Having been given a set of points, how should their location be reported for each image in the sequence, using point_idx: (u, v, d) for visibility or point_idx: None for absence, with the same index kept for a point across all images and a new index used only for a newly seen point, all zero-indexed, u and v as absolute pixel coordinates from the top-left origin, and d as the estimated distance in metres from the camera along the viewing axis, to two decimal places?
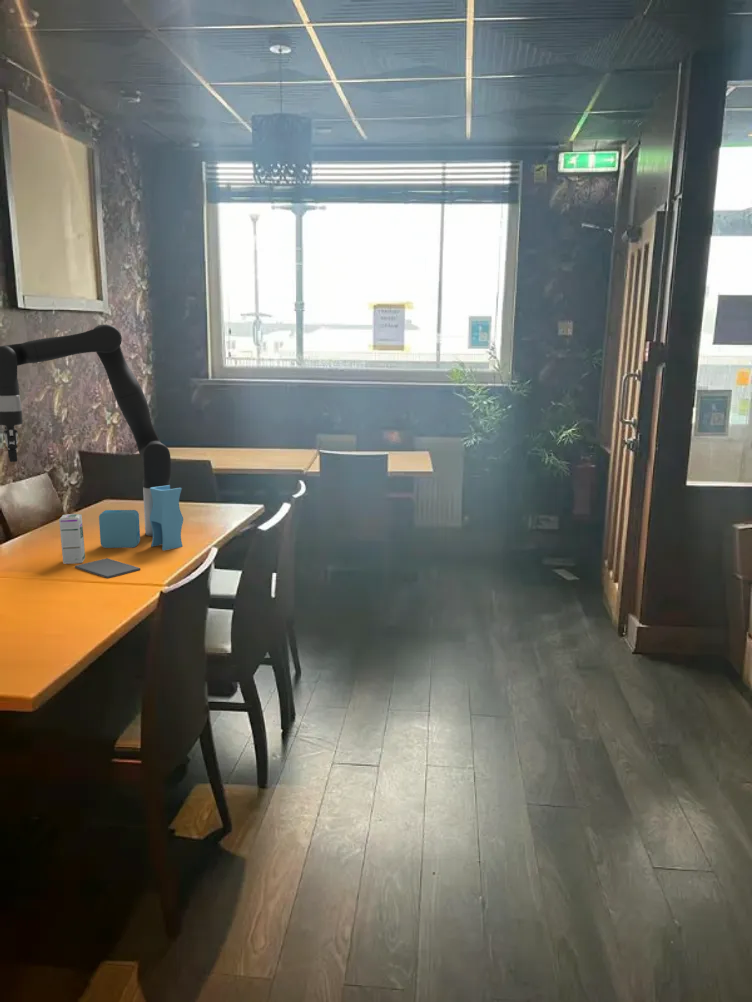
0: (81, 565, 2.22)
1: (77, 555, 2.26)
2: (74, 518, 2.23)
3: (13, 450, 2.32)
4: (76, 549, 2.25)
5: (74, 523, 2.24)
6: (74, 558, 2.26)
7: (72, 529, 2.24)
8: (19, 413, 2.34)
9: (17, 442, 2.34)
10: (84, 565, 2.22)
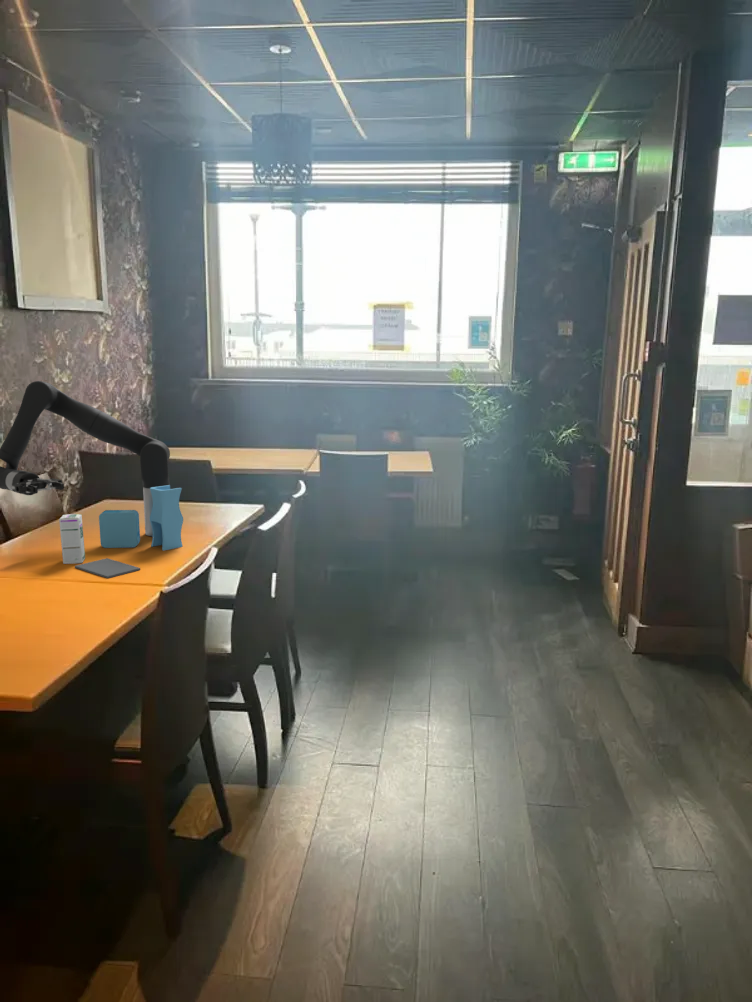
0: (81, 565, 2.22)
1: (77, 555, 2.26)
2: (74, 518, 2.23)
3: (26, 488, 2.29)
4: (76, 549, 2.25)
5: (74, 523, 2.24)
6: (74, 558, 2.26)
7: (72, 529, 2.24)
8: (17, 474, 2.37)
9: (28, 482, 2.31)
10: (84, 565, 2.22)
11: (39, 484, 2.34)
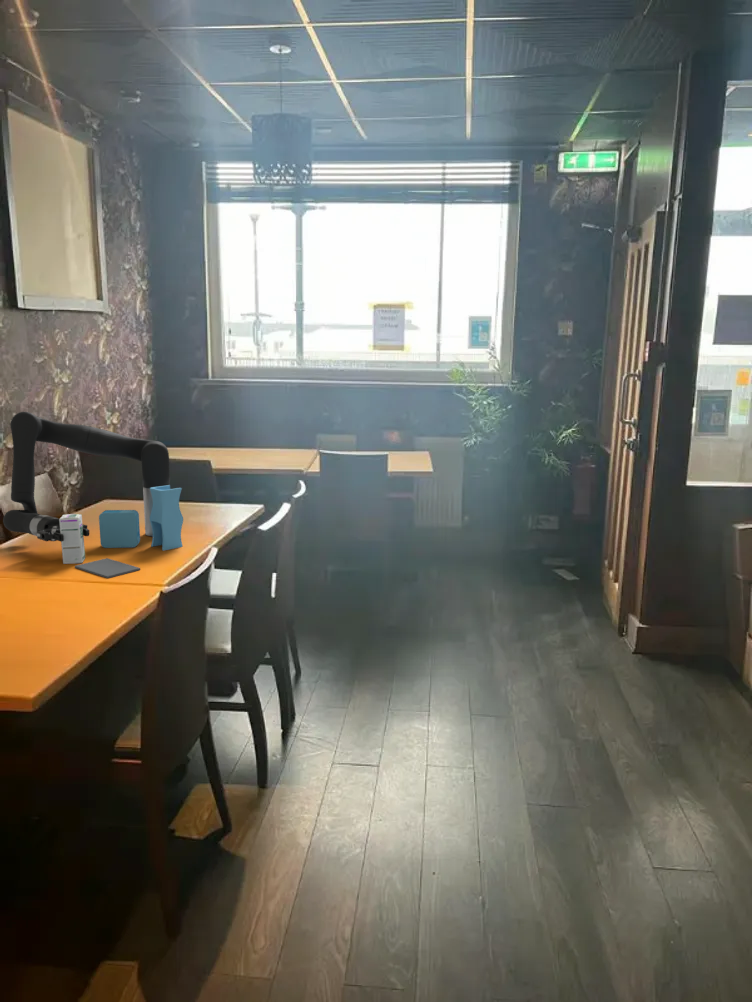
0: (81, 565, 2.22)
1: (77, 555, 2.26)
2: (74, 518, 2.23)
3: (52, 536, 2.24)
4: (76, 549, 2.25)
5: (74, 523, 2.24)
6: (74, 558, 2.26)
7: (72, 529, 2.24)
8: (41, 520, 2.32)
9: (53, 529, 2.26)
10: (84, 565, 2.22)
11: None
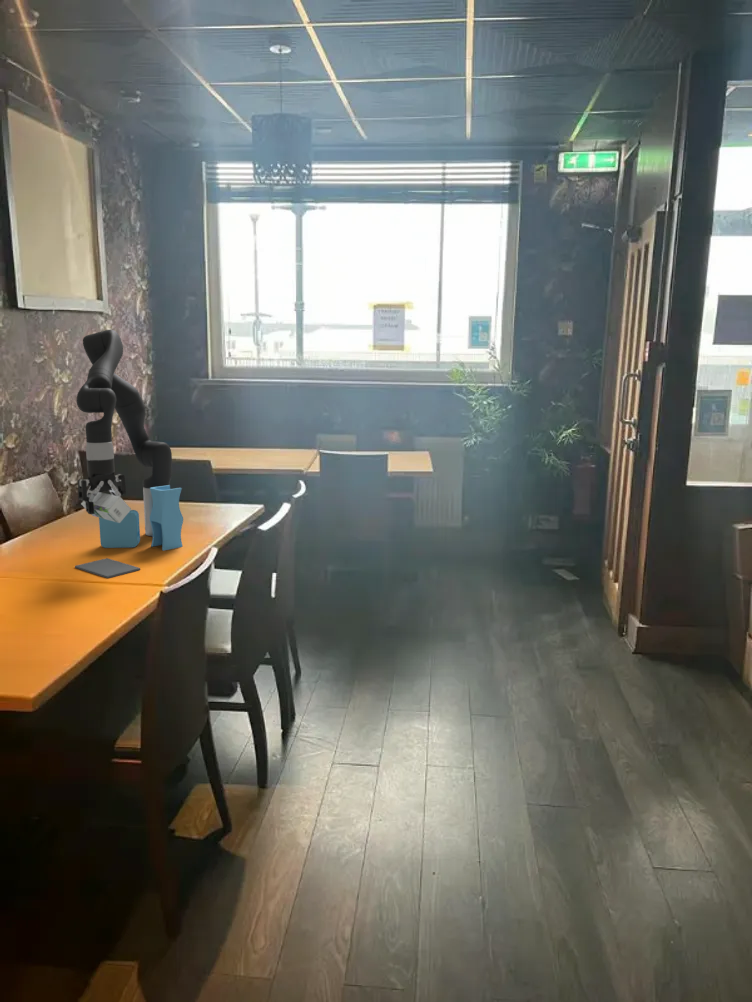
0: (81, 565, 2.22)
1: None
2: None
3: None
4: None
5: None
6: None
7: None
8: None
9: (109, 489, 2.20)
10: (84, 565, 2.22)
11: None
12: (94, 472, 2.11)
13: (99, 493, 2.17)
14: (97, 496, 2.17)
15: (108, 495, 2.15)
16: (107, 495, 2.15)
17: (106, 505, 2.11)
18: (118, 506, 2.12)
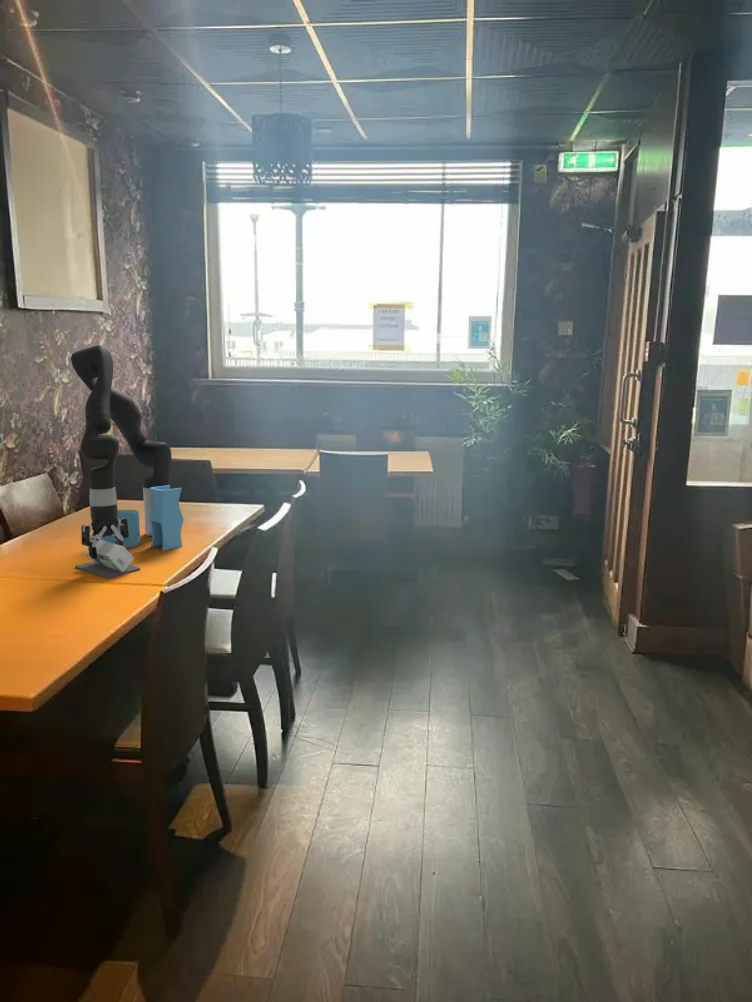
0: (81, 565, 2.22)
1: None
2: None
3: None
4: None
5: None
6: None
7: None
8: None
9: (112, 533, 2.23)
10: (84, 565, 2.22)
11: None
12: (97, 518, 2.14)
13: (103, 542, 2.20)
14: (101, 545, 2.20)
15: (112, 544, 2.18)
16: (110, 544, 2.18)
17: (109, 554, 2.14)
18: (121, 555, 2.15)
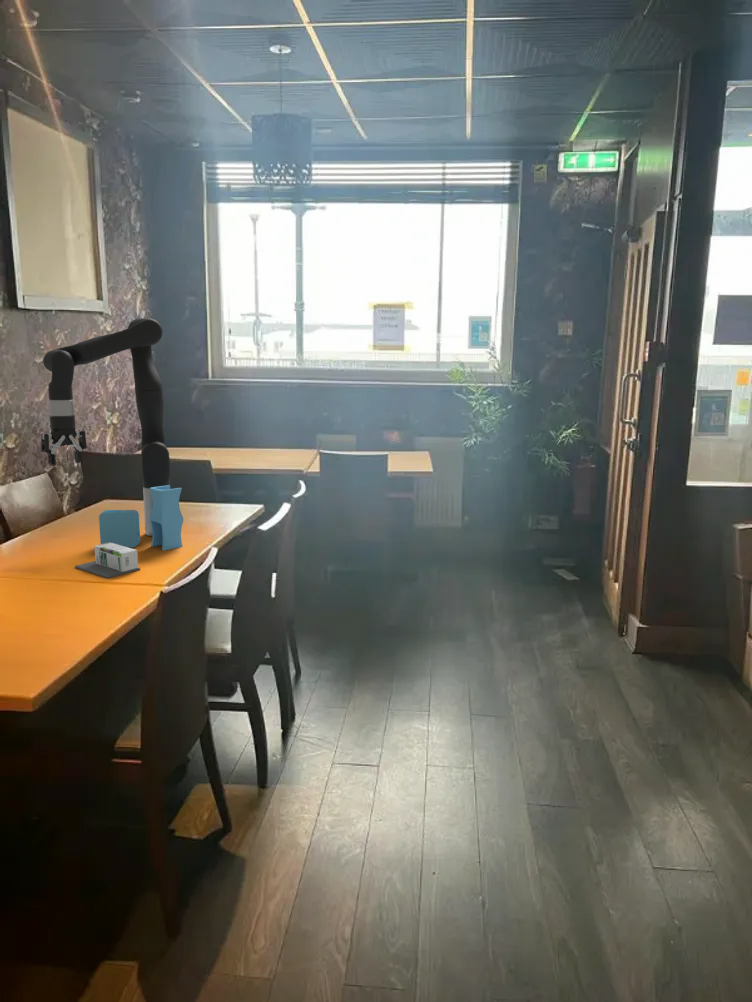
0: (81, 565, 2.22)
1: None
2: None
3: None
4: None
5: None
6: None
7: None
8: None
9: (71, 444, 2.41)
10: (84, 565, 2.22)
11: None
12: (56, 427, 2.32)
13: (116, 544, 2.24)
14: (113, 545, 2.23)
15: (125, 547, 2.21)
16: (124, 547, 2.22)
17: (121, 550, 2.17)
18: (131, 556, 2.17)
